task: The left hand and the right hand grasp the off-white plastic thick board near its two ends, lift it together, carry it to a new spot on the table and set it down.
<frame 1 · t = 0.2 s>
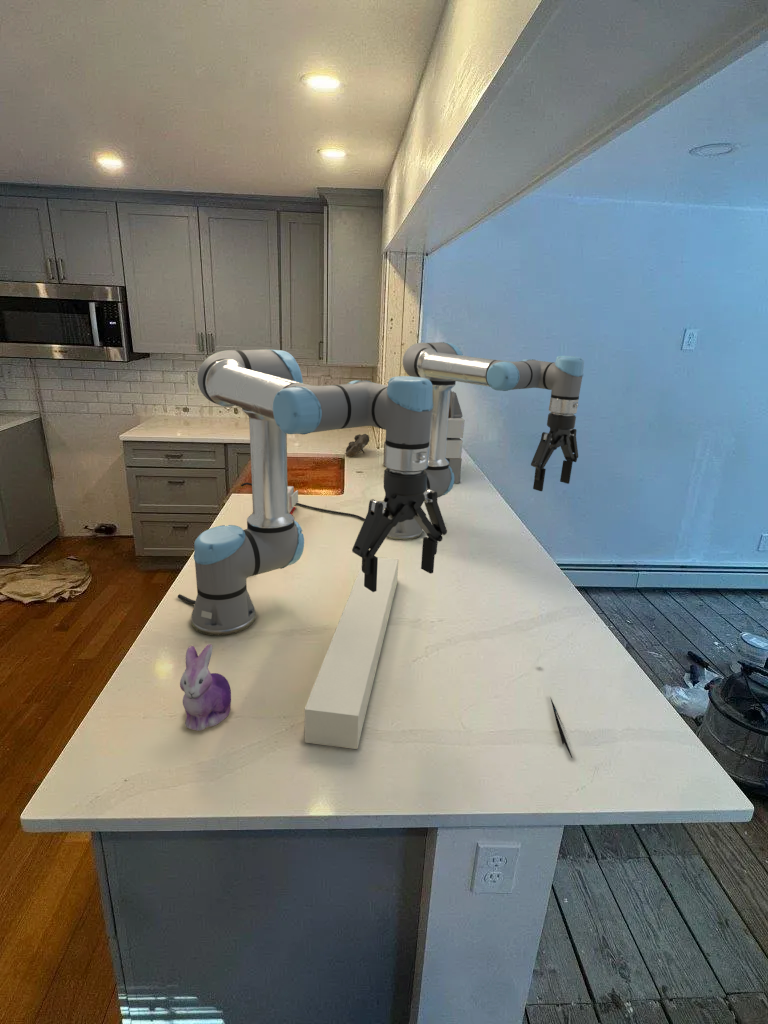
left hand: (399, 579, 105), 28 cm above the counter, tool pointing down, fingers open, 13 cm apart
right hand: (551, 486, 166), 28 cm above the counter, tool pointing down, fingers open, 13 cm apart
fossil: (357, 453, 307), on the counter
white slatted box: (419, 473, 275), on the counter
toy: (279, 518, 209), on the counter
figurine: (208, 716, 108), on the counter
thick board: (361, 643, 134), on the counter
feather: (553, 709, 114), on the counter
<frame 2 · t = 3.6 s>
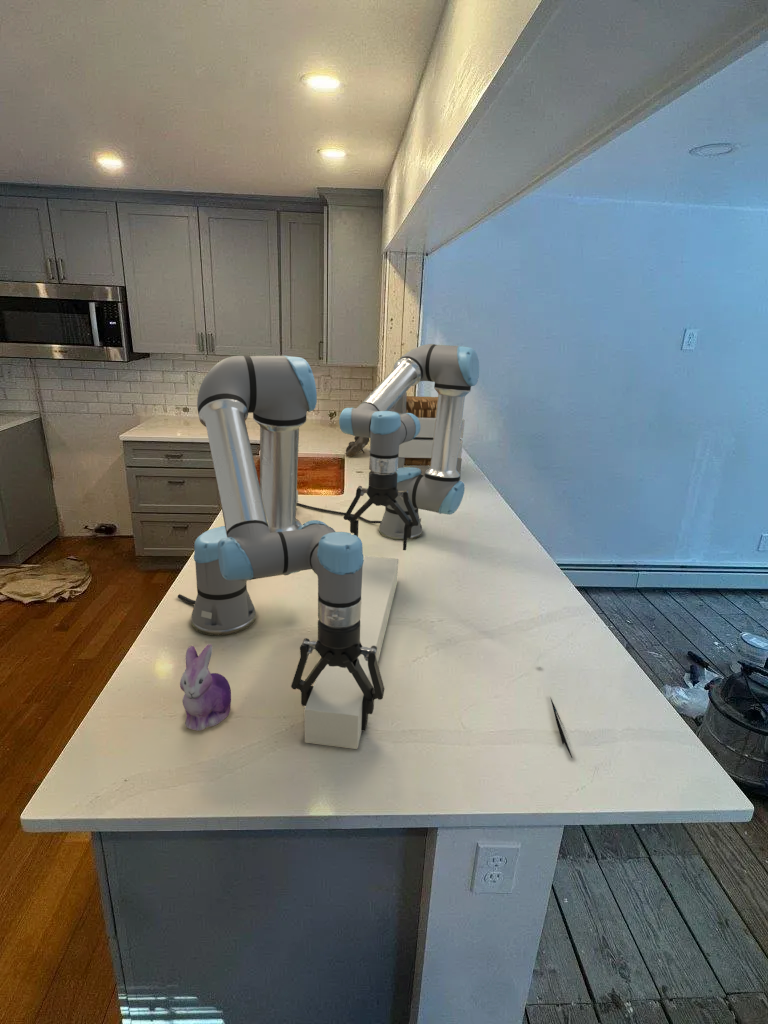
left hand: (337, 722, 107), 1 cm above the counter, tool pointing down, fingers closed on thick board, 10 cm apart
right hand: (380, 546, 156), 13 cm above the counter, tool pointing down, fingers open, 13 cm apart
thick board: (361, 643, 134), on the counter, touching left hand
everything else where it was.
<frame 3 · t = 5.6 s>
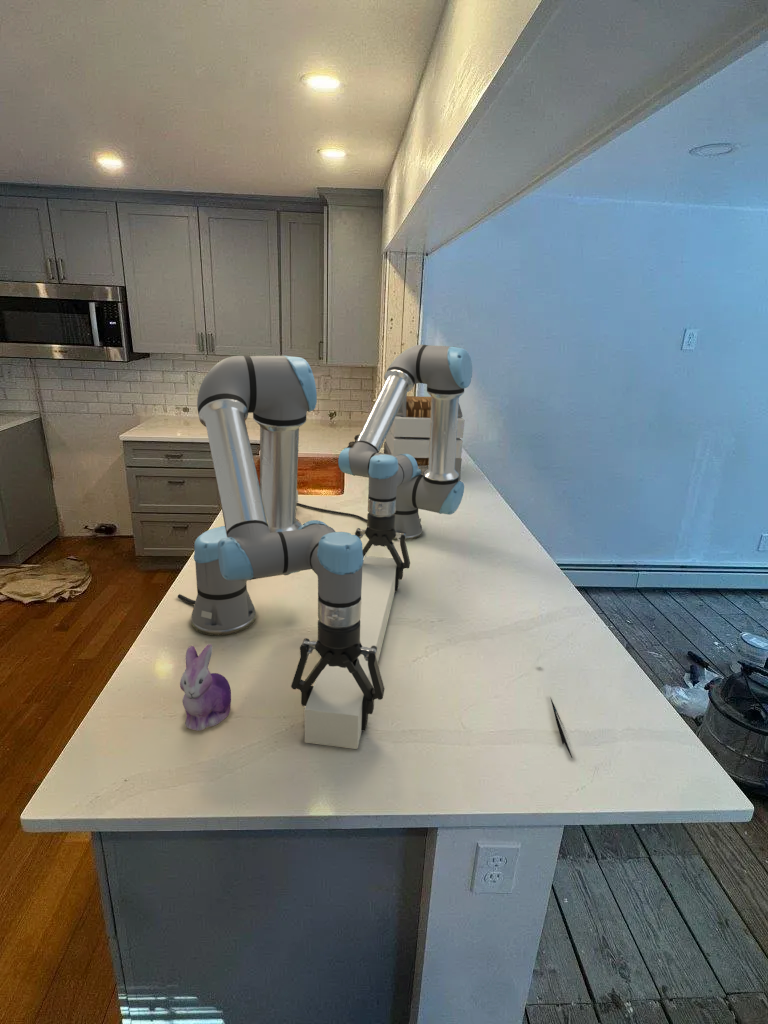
left hand: (337, 722, 107), 1 cm above the counter, tool pointing down, fingers closed on thick board, 10 cm apart
right hand: (378, 587, 160), 1 cm above the counter, tool pointing down, fingers closed on thick board, 10 cm apart
thick board: (361, 643, 134), on the counter, touching right hand, left hand
everything else where it was.
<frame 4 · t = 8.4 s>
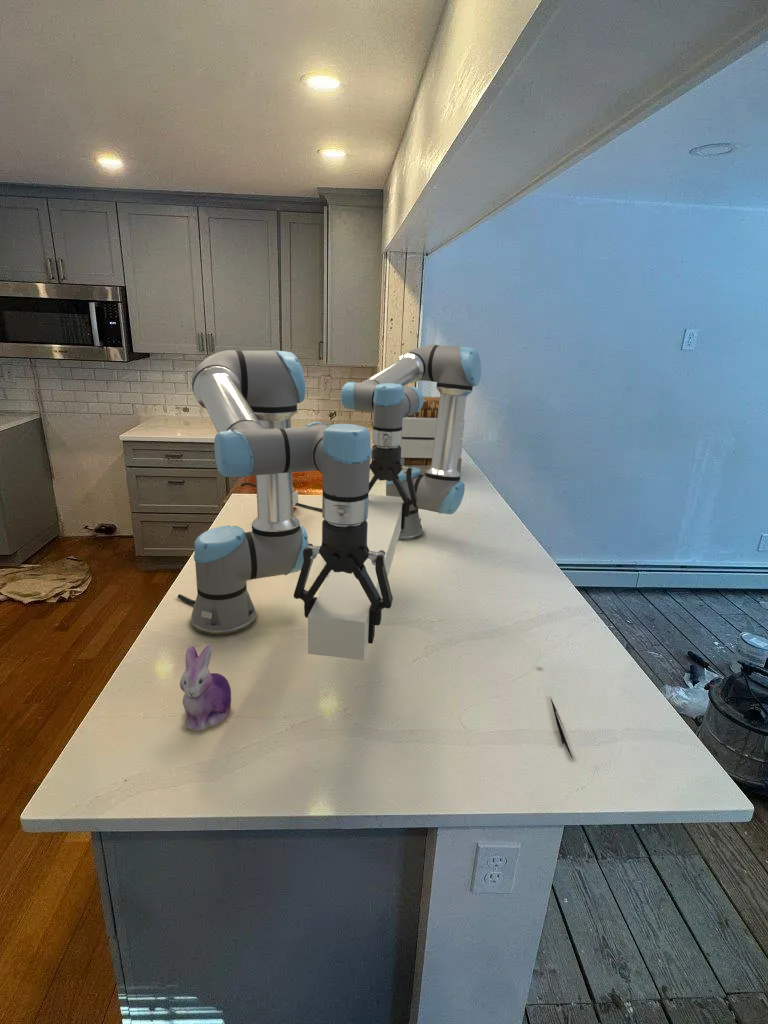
left hand: (342, 636, 101), 19 cm above the counter, tool pointing down, fingers closed on thick board, 10 cm apart
right hand: (383, 525, 154), 19 cm above the counter, tool pointing down, fingers closed on thick board, 10 cm apart
thick board: (367, 572, 128), point 19 cm above the counter, touching right hand, left hand
everything else where it was.
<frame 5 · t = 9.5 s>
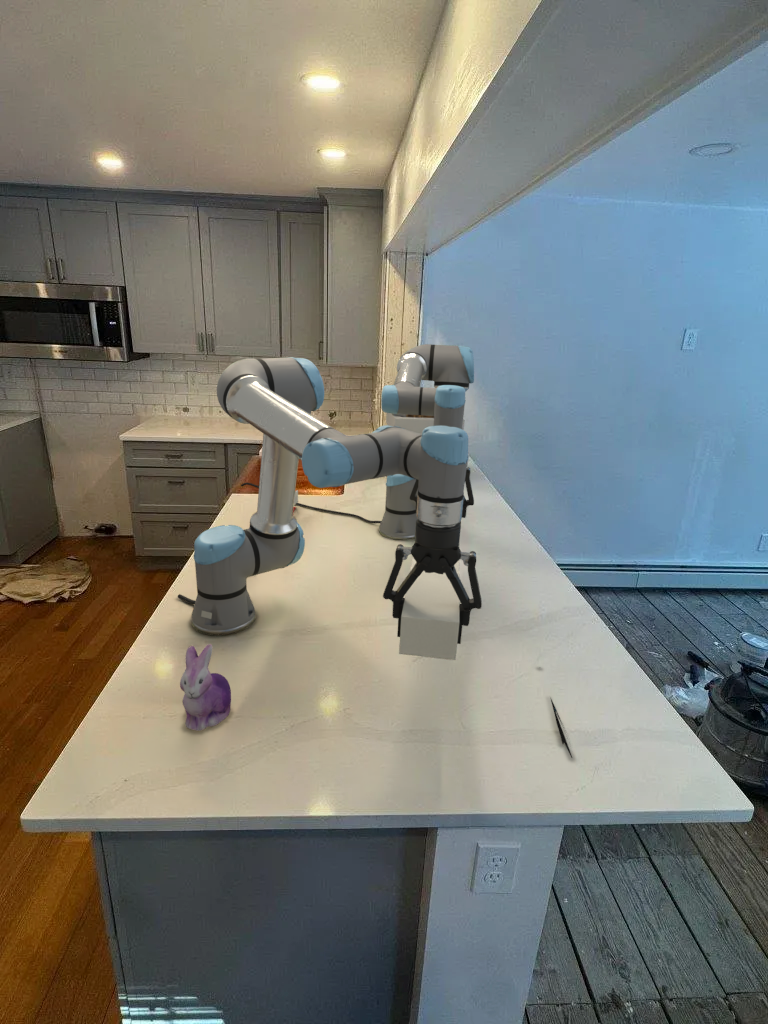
left hand: (429, 636, 102), 20 cm above the counter, tool pointing down, fingers closed on thick board, 10 cm apart
right hand: (439, 526, 155), 19 cm above the counter, tool pointing down, fingers closed on thick board, 10 cm apart
thick board: (435, 573, 128), point 19 cm above the counter, touching right hand, left hand
everything else where it was.
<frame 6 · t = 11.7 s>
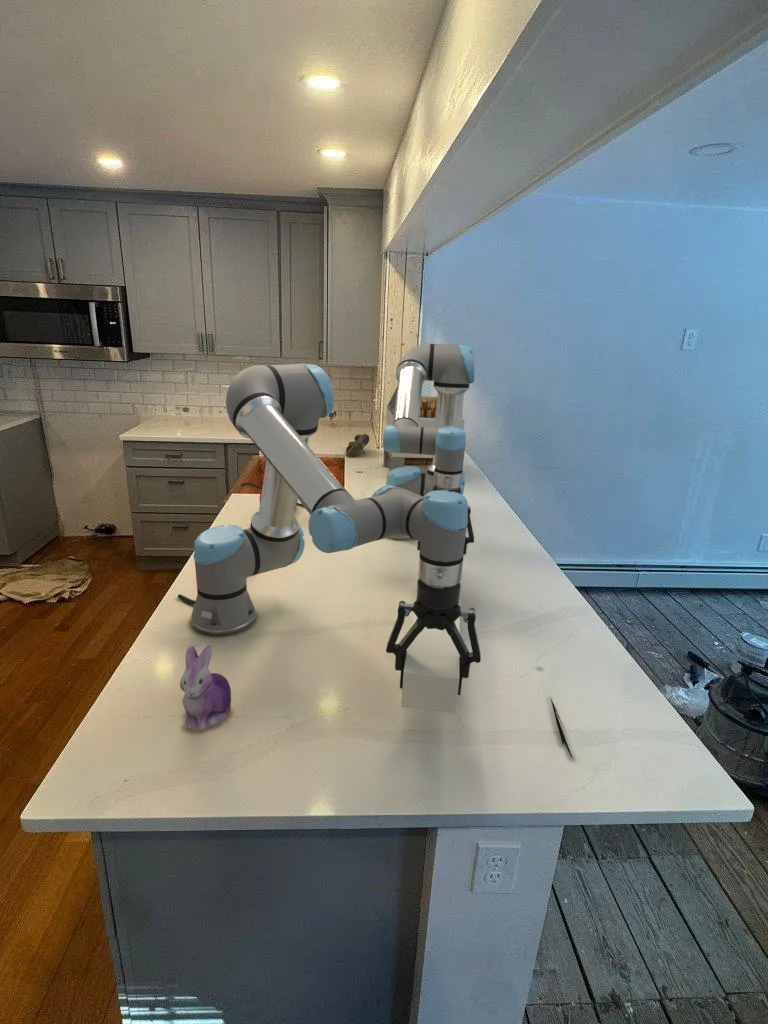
left hand: (430, 687, 106), 9 cm above the counter, tool pointing down, fingers closed on thick board, 10 cm apart
right hand: (440, 562, 159), 8 cm above the counter, tool pointing down, fingers closed on thick board, 10 cm apart
thick board: (436, 615, 132), point 8 cm above the counter, touching right hand, left hand
everything else where it was.
when the left hand's fingers open (2 cm above the counter, at t = 13.5 s): thick board drops 1 cm, on the counter.
when the right hand's fingers open (2 cm above the counter, at t = 13.5 s): thick board drops 1 cm, on the counter.
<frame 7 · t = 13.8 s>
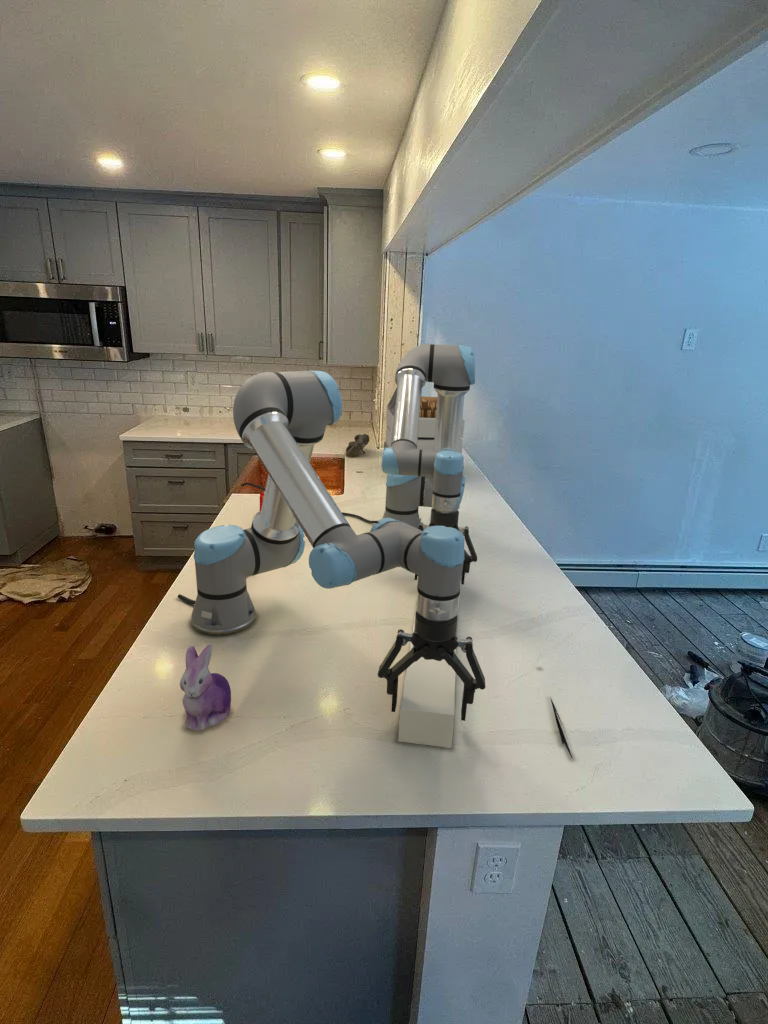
left hand: (428, 711, 108), 3 cm above the counter, tool pointing down, fingers open, 12 cm apart
right hand: (439, 580, 160), 3 cm above the counter, tool pointing down, fingers open, 12 cm apart
thick board: (433, 643, 135), on the counter
everything else where it was.
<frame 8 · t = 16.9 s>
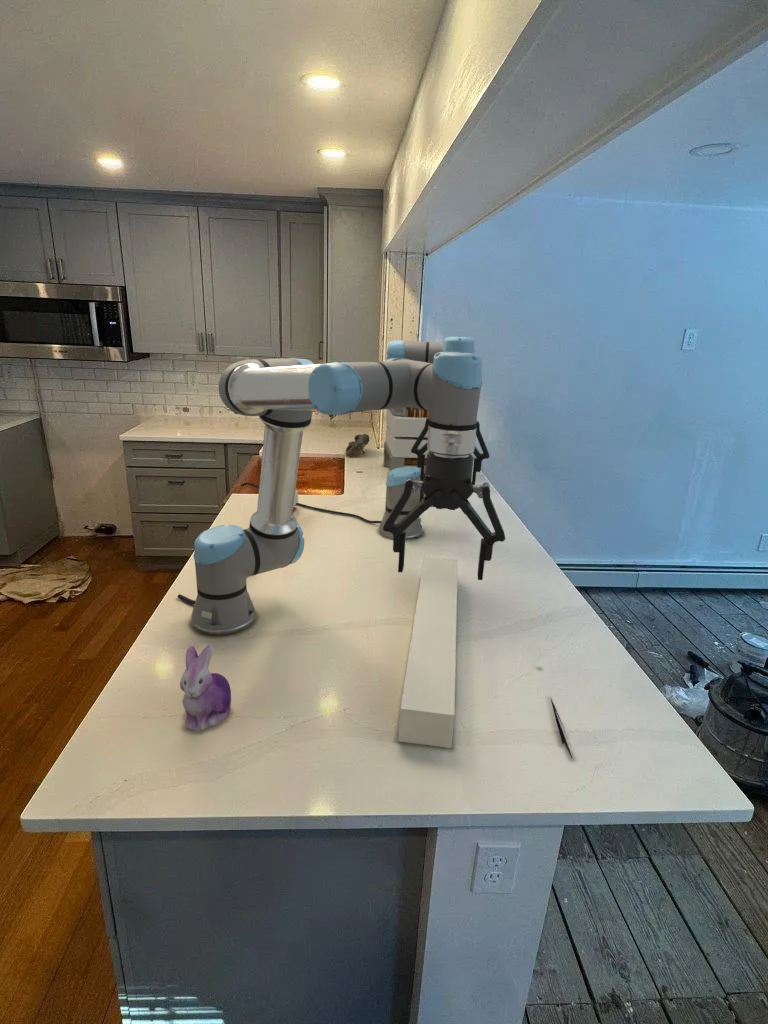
left hand: (440, 573, 98), 32 cm above the counter, tool pointing down, fingers open, 13 cm apart
right hand: (447, 481, 150), 32 cm above the counter, tool pointing down, fingers open, 13 cm apart
nothing on the counter moved.
at the end: thick board inside the target area (0.2 cm from its centre), on the counter; thick board tilted 0°; thick board never tilted more than 1° during the clip; both hands held the thick board at the same time; the left hand is holding nothing; the right hand is holding nothing; thick board at rest at the end (0.0 cm/s) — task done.
